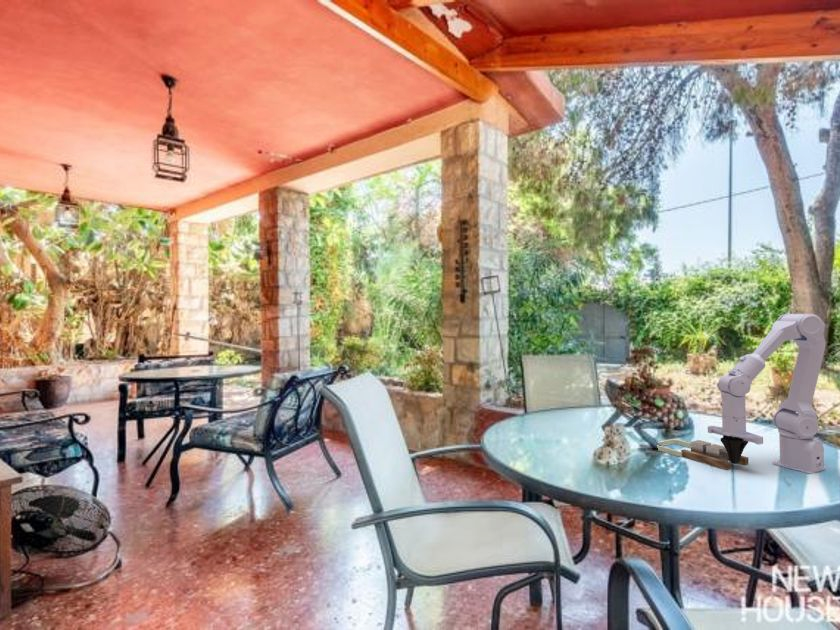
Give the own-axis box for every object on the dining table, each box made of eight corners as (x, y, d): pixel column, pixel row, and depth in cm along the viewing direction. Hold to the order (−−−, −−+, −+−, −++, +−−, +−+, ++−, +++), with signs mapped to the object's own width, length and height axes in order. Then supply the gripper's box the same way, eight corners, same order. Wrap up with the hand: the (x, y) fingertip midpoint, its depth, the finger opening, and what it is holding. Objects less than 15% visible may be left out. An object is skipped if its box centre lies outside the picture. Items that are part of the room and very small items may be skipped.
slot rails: (748, 464, 136) (748, 457, 136) (726, 470, 132) (726, 463, 132) (702, 451, 149) (702, 445, 149) (681, 456, 145) (681, 450, 145)
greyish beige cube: (711, 457, 143) (711, 443, 143) (703, 459, 142) (702, 445, 141) (699, 454, 147) (699, 440, 147) (690, 456, 145) (690, 441, 145)
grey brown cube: (728, 462, 139) (727, 447, 139) (719, 464, 137) (719, 449, 137) (714, 458, 142) (714, 444, 142) (706, 460, 141) (706, 445, 141)
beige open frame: (705, 451, 149) (705, 446, 149) (681, 457, 144) (680, 452, 144) (674, 442, 159) (674, 438, 159) (650, 447, 154) (650, 443, 154)
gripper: (700, 413, 140) (701, 457, 140) (751, 423, 126) (752, 472, 127) (715, 410, 143) (716, 454, 143) (767, 420, 129) (768, 468, 129)
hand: (734, 462), depth 135 cm, fingers closed
